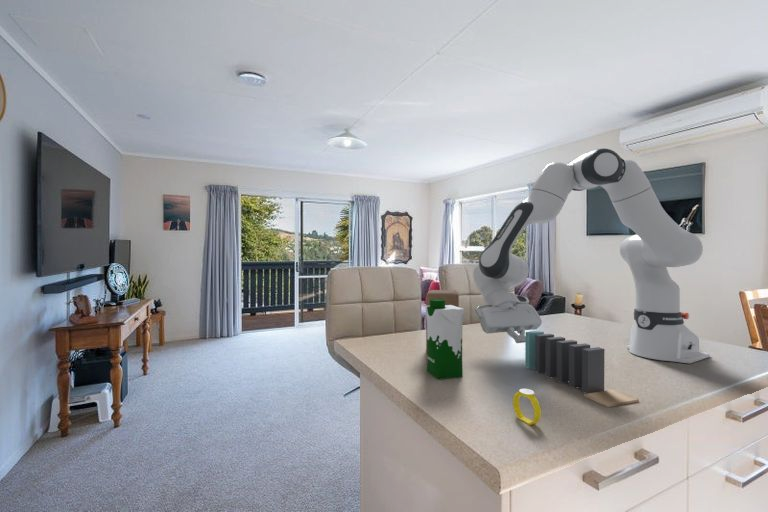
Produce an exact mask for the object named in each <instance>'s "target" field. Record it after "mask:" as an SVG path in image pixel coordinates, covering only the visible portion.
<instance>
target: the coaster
mask: <svg viewBox="0 0 768 512" xmlns="http://www.w3.org/2000/svg"><path fill="white" fill-rule="evenodd" d="M583 397H584V398H586V399H589V400H590V401H594V402H596V403H597V404H600V405H601V406H605V407H607V408H611V407H617V406H622V405H623V406H624V405H628V404H633V403H638V402H640V399H638V398H636V397H634V396H631V395H629V394H626V393H624V392H621V391H618V390H617V389H614V388H613V389H612V388H611V389H607V390H604V391H600V392H594V393H588V394H586V393H584V394H583Z"/></svg>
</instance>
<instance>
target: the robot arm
mask: <svg viewBox="0 0 768 512" xmlns="http://www.w3.org/2000/svg"><path fill="white" fill-rule="evenodd" d="M598 187H601V188H603V189H604V190H605V191H606V192H607V194H608V197H609V199H610V201H611V204H612V206H613V208H614V210H615V212H616V214H617V216H618V219H619V221H620V222H621V223H622V225H624V226H625V227H627V228H629V229H630V230H631V231H633V232H634V233H635V234H633V235H631V236H628V237H626V238H625V239H623V240H622V242H621V244H620V246H619V253H620V256H621V258H622V259H623V260H624V262H626V263H627V265H628V267H629V269H630V271H631V274H632V277H633V281H634V286H635V287H634V288H635V308H634V310H633V319H634V323H633V324H632V325H631V330H630V339H629V344H626V349H628V350H629V353H631V354H633V355H635V356H638V357H643V358H646V359H650V360H651V359H652V360H657V361H666V362H677V363H683V364H693V363H696V362H698V361H701V360H704V359H707V358H710V357H711V355H710V353H709V352H706V351H704V350H701V349H700V339H699V336H697V335H696V334H695V333H694V332H693V331H692V330H690V329H689V328H688V327H687V326H686V325H685V321H684V320H689V318H690V314H689V312H682V311H680V307H681V305H680V304H681V303H680V302H681V301H680V300H681V299H680V297H681V296H680V295H681V293H680V292H681V291H680V290H681V289H680V287H679V284H677V282H675V281H674V280H673V279H672V277H671V276H670V274H669V271H668V268H680V267H681V268H682V267H686V266H691V265H692V264H695V263H696V262H698V261H699V260H700V258H701V257H702V254H703V251H704V250H703V244H702V241H701V239H700V238H699V237H698V236H697V235H696V234H694V233H692V232H691V231H687V230H686V229H685V228H683V227H681V226H680V225H679V224H678V223H677V222H675V220H673V218H672V217H671V216H670V215H669V214H668V213H667V212H666V210H665V209H664V207H663V206H662V204H661V202H660V200H659V199H658V197H657V195H656V192H655V191H654V189H653V187H652V184H651V182H650V180H649V179H648V177H647V176H646V173H645V172H644V171H643V170H642V168H641V167H640V166H639V165H638V164H637V162H636V161H634V160H632V159H624V158H622V157H621V156H620V155H619V154H618V153H617V152H616V151H615V150H613V149H610V148H596V149H593V150H591V151H588V152H586V153H583V154H581V155H580V156H578V157H577V158H575V159H573V160H571V161H569V162H568V163H567V164H566V163H564V162H550V163H549V164H547V165H546V166H545V167H544V168H543V169H542V170H541V172H540V174H539V175H538V177H536V179H535V181H534V183H533V185H532V186H531V188H530V190H529V192H528V194H527V196H526V197H525V199H524V200H523V201H521V202H519V203H518V204H517V205H516V206H515V207H514V208H513V209H512V211H511V212H510V213H509V215H508V216H507V217H506V220H505V221H504V222H503V223H502V225H501V227H500V229H499V230H498V232H497V233H496V234H495V236H494V237H493V239H492V240H491V242H490V243H489V244H488V245H487V246H486V247H485V248H484V250H483V251H482V252H481V254H480V256H479V259H478V264H477V265H476V266H475V268H474V269H473V271H472V277H473V281H474V284H475V287H476V288H477V290H478V292H479V294H480V295H481V296H482V297H483V302H484V304H485V305H478V306H477V307H476V308H475V313H476V315H477V317H478V320H479V324H480V327H481V329H482V331H483V332H484V333H486V334H497V333H498V334H499V333H507V335H508V336H509V337H510V338H512V339H513V340H514V342H515V343H516V344H524V343H525V338H526V331H533V330H534V331H535V330H538V328H539V327H540V326H541V325H542V323H543V321H542V318H541V316H540V315H539V313H538V312H537V310H536V308H535V307H534V306H533V305H532V304H529V303H530V300H529V298H528V297H527V296H524V295H518V294H515V293H513V292H511V291H510V290H513V289H514V288H517V287H518V286H520V285H522V284H523V283H525V281H526V280H527V279H528V277H529V275H530V266H529V263H528V262H527V261H526V260H525V259H523V258H522V257H520V256H518V255H516V254H513V253H512V248H513V246H515V245H514V244H515V243H516V241H517V240H518V239H519V237H520V236H521V234H522V232H523V231H524V230H525V228H527V227H528V226H530V225H533V224H546V223H548V222H551V221H553V220H555V219H556V218H557V217H558V215H559V214H560V212H561V210H562V209H563V208H564V205H565V203H566V201H567V198H568V196H569V195H570V193H571V192H572V191H575V192H576V191H578V192H581V191H586V190H592V189H596V188H598Z"/></svg>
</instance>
